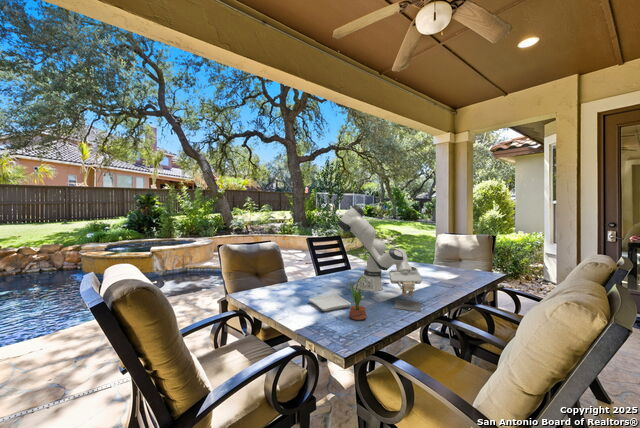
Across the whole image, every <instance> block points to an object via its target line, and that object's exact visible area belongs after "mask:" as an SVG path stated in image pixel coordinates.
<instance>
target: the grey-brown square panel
mask: <svg viewBox="0 0 640 428" xmlns="http://www.w3.org/2000/svg"><path fill="white" fill-rule="evenodd" d="M393 309H394V310H402V311H409V312H418V313H421V312H422V307H421V302H418V301H409V300H401V299H395V300H394V307H393Z"/></svg>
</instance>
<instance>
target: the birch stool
mask: <svg viewBox="0 0 640 428" xmlns="http://www.w3.org/2000/svg"><path fill="white" fill-rule="evenodd" d="M401 285H402V286H403V289H401V296H402V297H403V298H405V299H406V298H407V292H408V296H409V297H410V299H411V298H412V299H413V298H414V290H413V287H414V283H412V282H401Z"/></svg>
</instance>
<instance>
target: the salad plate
mask: <svg viewBox="0 0 640 428" xmlns="http://www.w3.org/2000/svg"><path fill="white" fill-rule="evenodd" d="M308 302H310V303H311V304H312V305H315V306H316V307H317V308H318V309H321V310H322V311H323V312H328V311H334V310H339V309H344V308H348V307H349V306H350V307H351V306H352V303H351V302H350V301H348V300H346V299H345V298H343V297H341V296H340V295H338V294H336V293H335V294H328V295H323V296H317V297H311V298H308Z"/></svg>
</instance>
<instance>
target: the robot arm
mask: <svg viewBox="0 0 640 428" xmlns="http://www.w3.org/2000/svg"><path fill="white" fill-rule="evenodd" d="M364 215H365V211H364V209H363V208H362V206H360V205H358V204H354V205H353V206H352V207H350V208H349V209H348V210H347V211H346V212H345V213H344V214H343V215H342V216H341V217H340V219H338V221H337V223H336V224H337V227H338V228H339V230H340V231H342V232H344V233H347V232H351V233H352V234H353V235H354V236H355V238H356V239H357V240H359V242H360V243H361V245H362V246H363V248H364V249H365V250H366V252H367V253H368V258H367V259H366V268H365V269H364V270H363V275H362V276H361V275H360V277H365V278H366V281H365V279H364V278H363V279H360V280H361V281H362V280H363V282H364V283H366V284H367V285H366V286H363V285H364V283H363V284H362V285H361V284H360V285H358V287H357V289H359V287H360V286H361V291H366V292H372V293H373V292H378V291H382V290H383V289H384V288H383V284H382V277H383V276H382V275H383V274H382V272H383V271H387V270H389V269H390V268H391V267H393V266H394V265H395V267H396V268H395V270H394V269H393V270H390V271H388V276H389V282H390V283H391V284H393V285H394V284H397V286H398V287H399V288H400V290H402V289H403V286H402V284H401V282H412V283H414V287H413V291H415V290H416V287H415V286H416V285H420V284H421V283H422V281H423V279H422V276H421V273H420V272H419V271H418V267H414V266H411V265H410V264H409V258H408V256H407V253H406V251H405V249H403V248H389V249H388V250H387V245H386V243H385V242H384V241H383V240H380V239H377V238H376V233H377V232H376V229H375V228H374V226H373V225H371V224H370V223H369V221H367V220H366V219H364V218H363V217H364ZM386 250H387V251H386ZM368 279H369V280H370V282H368V281H367V280H368ZM360 280H359V283H360V282H361V281H360ZM357 281H358V279H357ZM357 281H356V282H357ZM356 285H357V283H355V284H354V285H353V288H354V290H356Z"/></svg>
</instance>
